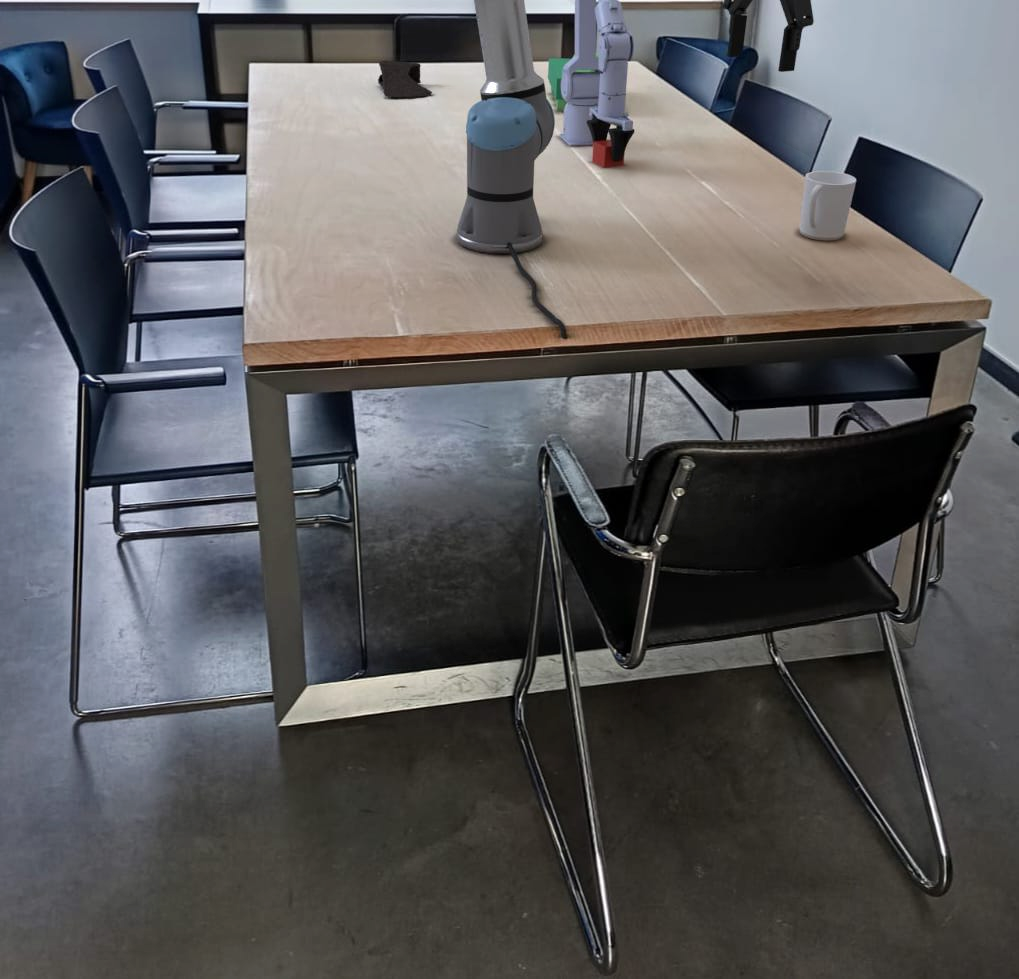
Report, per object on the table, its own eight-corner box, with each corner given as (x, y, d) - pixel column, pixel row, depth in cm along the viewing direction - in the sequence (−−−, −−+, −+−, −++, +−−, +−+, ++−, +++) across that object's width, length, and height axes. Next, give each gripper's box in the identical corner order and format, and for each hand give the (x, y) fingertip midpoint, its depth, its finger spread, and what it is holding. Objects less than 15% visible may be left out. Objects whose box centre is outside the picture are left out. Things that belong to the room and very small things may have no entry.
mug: (809, 222, 208) (818, 168, 202) (854, 233, 203) (864, 177, 197) (782, 236, 200) (791, 180, 195) (827, 247, 195) (838, 190, 190)
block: (623, 165, 240) (625, 144, 238) (604, 167, 238) (605, 146, 236) (611, 159, 244) (613, 139, 242) (592, 162, 242) (593, 141, 240)
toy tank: (610, 40, 305) (627, 64, 275) (607, 86, 311) (623, 114, 282) (547, 38, 304) (557, 62, 274) (545, 84, 310) (555, 113, 281)
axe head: (443, 87, 294) (392, 77, 287) (436, 115, 299) (385, 106, 292) (421, 62, 307) (371, 52, 300) (414, 89, 311) (365, 80, 304)
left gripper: (851, -73, 165) (827, 75, 176) (747, -85, 183) (731, 49, 195) (813, -72, 162) (791, 79, 173) (711, -85, 180) (697, 52, 192)
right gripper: (647, 98, 230) (641, 163, 237) (610, 84, 240) (606, 147, 248) (618, 100, 227) (614, 166, 234) (582, 87, 238) (579, 150, 245)
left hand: (759, 63), depth 184 cm, fingers open, 13 cm apart
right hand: (608, 157), depth 241 cm, fingers open, 7 cm apart
